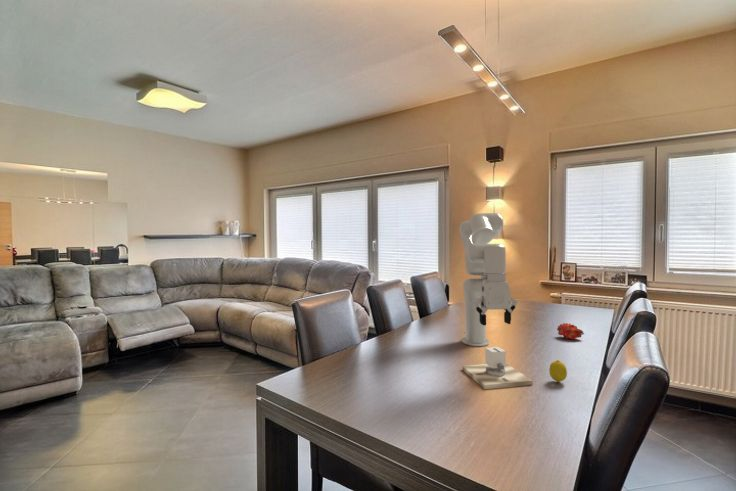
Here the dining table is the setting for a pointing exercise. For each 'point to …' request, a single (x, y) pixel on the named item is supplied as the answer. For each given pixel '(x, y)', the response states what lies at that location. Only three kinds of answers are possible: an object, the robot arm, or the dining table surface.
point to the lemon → (558, 371)
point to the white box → (495, 357)
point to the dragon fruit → (569, 331)
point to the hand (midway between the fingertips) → (495, 323)
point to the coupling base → (496, 376)
